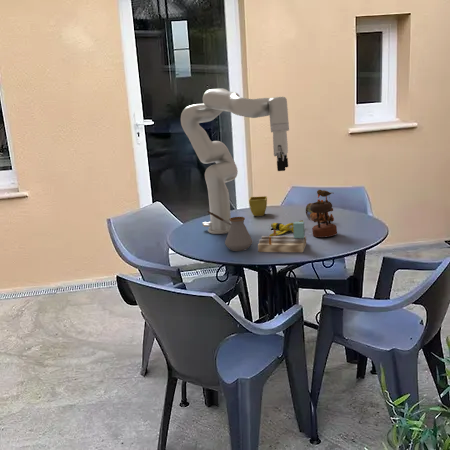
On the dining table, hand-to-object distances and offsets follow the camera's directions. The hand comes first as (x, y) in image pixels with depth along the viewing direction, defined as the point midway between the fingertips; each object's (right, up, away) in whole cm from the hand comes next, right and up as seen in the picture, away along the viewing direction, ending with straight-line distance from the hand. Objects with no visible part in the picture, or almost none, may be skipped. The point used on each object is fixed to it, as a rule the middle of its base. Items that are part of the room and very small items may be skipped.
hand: (283, 169), depth 221 cm
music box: (+19, -28, +9) cm, 35 cm away
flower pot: (-7, -18, +53) cm, 56 cm away
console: (-1, -33, -4) cm, 33 cm away
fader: (+6, -29, -7) cm, 31 cm away
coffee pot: (-22, -33, +2) cm, 40 cm away
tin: (+20, -22, +33) cm, 44 cm away
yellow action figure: (+2, -27, +20) cm, 34 cm away
